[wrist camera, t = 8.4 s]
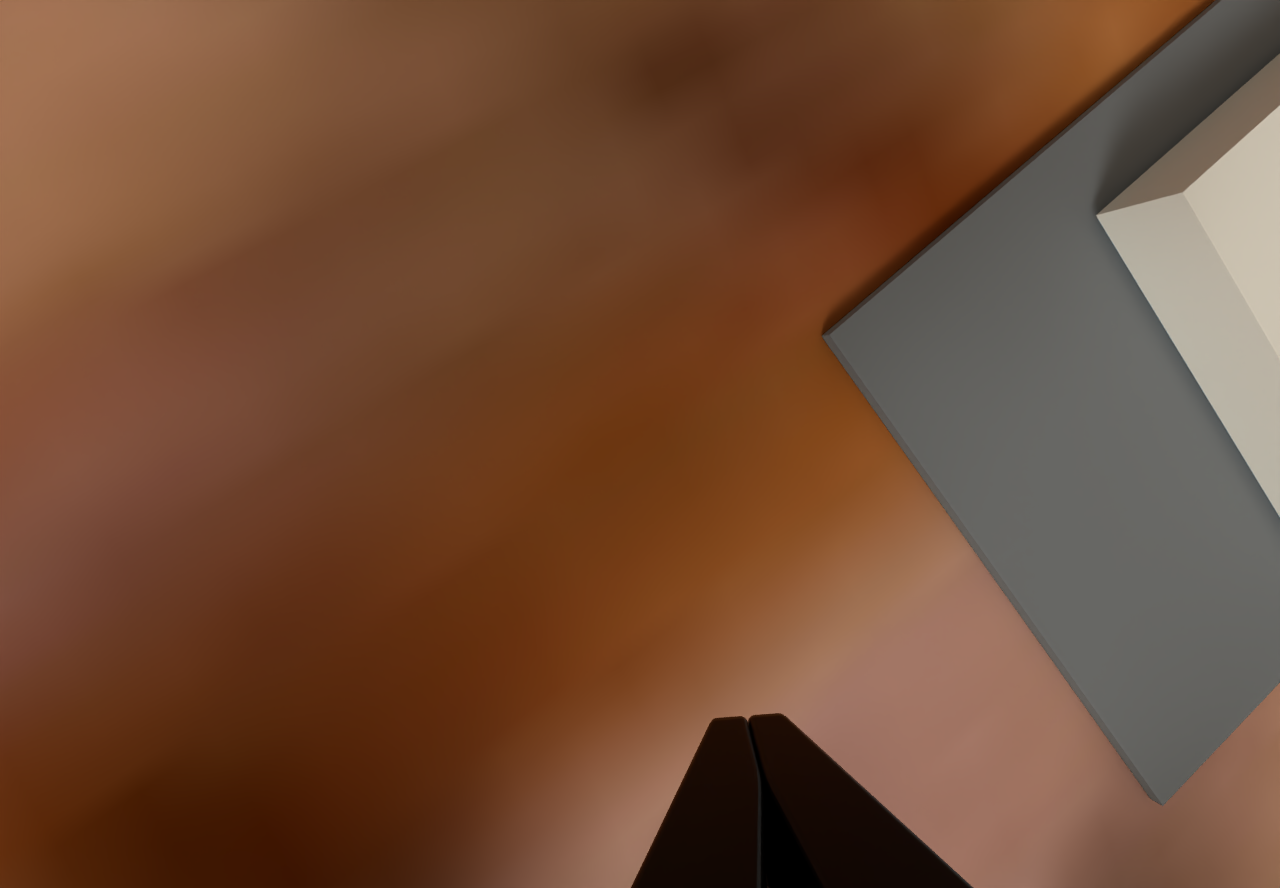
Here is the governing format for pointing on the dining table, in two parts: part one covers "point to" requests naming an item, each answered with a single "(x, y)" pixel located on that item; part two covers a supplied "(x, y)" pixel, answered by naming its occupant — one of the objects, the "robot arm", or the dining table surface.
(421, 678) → the dining table surface
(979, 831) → the dining table surface
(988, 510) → the mat
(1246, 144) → the tile
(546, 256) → the dining table surface
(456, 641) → the dining table surface
